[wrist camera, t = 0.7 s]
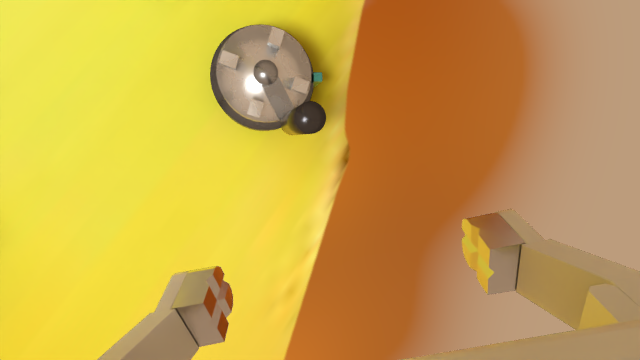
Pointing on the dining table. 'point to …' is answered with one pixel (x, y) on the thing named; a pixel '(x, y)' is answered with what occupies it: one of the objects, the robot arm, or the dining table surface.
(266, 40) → the disc with upright handle
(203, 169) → the dining table surface
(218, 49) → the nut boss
